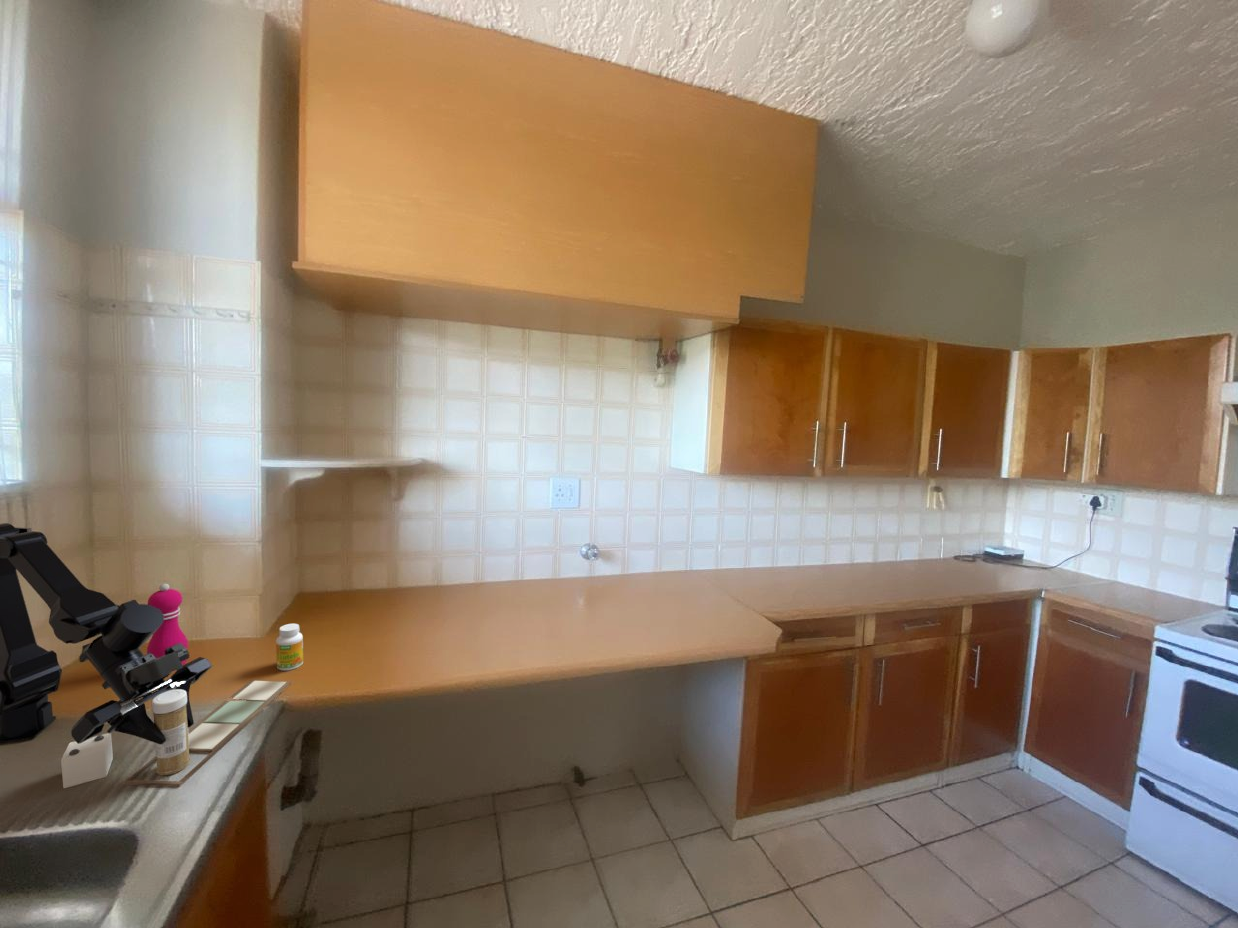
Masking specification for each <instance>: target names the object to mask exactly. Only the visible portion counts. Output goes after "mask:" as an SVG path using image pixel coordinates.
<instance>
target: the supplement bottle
mask: <svg viewBox="0 0 1238 928" xmlns="http://www.w3.org/2000/svg"><path fill="white" fill-rule="evenodd" d="M278 630H279V631H278V632H279V636H278V637H277V638H276V641H275V643H276V644H275V651H276V668H277V669H278V670H279V671H283V672H286V671H291V670H294V669H298V668H299V667H301V666H302V665H303V663H304V636H303V634H302V632H300V625H299V624H298V623H288V624H287V623H286V624H284V625H282V626H280V627H279V629H278Z"/></svg>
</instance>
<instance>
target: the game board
mask: <svg viewBox="0 0 1238 928" xmlns="http://www.w3.org/2000/svg"><path fill="white" fill-rule="evenodd" d="M291 683H292V681H282V680H281V681H280V680H279V681H278V680H249V681H248V682H247V683H246V684H244V685H243V686H242V687H240V688H239V689H238V690H237V691H236V692H235V693H233V694H232V695H230V696H229V698H231V697H232V698H233V699H234V700H236V699H239V700H242V699H243V700H246V701H229V702H228V701H226V700H224V701H223V702H222V703H221V704H219V705H218V706H217V707H216V708H214V709H213V710H212V711H211V712H209V713H208V714H207V715H206V716H204V717H203V718H202V719H200V721H198V722H197V723H195V725H192V726H191V727H190V728H189V729H188V732H189V753H200V754H201V753H204V754H205V753H207V754H208V755H207V756H206V757H204V758H203V759H202V760H201V761H200V762H199V763H198V764H197V765H195V767H194V768H192V769H191V770H190V771H189V772H188V773H186V775H184V776H183V777H182V778H181V779H180V780H179V781H176V780H175V781H173V780H170V781H169V780H141V779H140V780H138V779H136V778H138V777H139V776H140V775H141V774H143V772H145V771H146V770H148V769H149V768H150V767H151V766H153V764H155V763H157V759H156V756H155V757H154V758H152V759H151V760H149V761H148V762H147V763H146V764H145V765H143V766H142V767H141V768H140V769H138V770H137V771H136V772H134V773H133V774H132V775H131V776H129V777H128V778H127V779H126V780H125V781H123V786H144V787H145V786H146V787H147V786H148V787H150V786H151V787H154V786H155V787H181V786H182V785H183V784H184V783H185V782H186V781H188V780H189V779H190V777H192V776H193V775H194V774H195V773H197V772H198V771H199V770H200V769H201V768H202V767H203V766H204V765H205V764H206V763H208V762H209V760H210V759H212V758H213V757H214V756H215V755H216V754H217V753H218V752H219V751H220V750H221V749H223V748H224V747H225V746H226V745H227V744H228V743H229V742H230V741H231V740H232V739H234V737H235V736H237V734H239V733H240V732H241V731H242V730H243V729H245V727H246V726H248V724H249V723H251V722H252V721H253V720H254V719H255V718H256V717H257V716H258V715H259V714H260V713H261V712H260V711H261V710H262V709H263V708H265V707H266V706H267V705H268V703H269V702H270V701H271V700H272V699H273V698H275V697H276V696H277V695H279V694H280V693H281V692H282V691H283V690H284V689H285V688H286V687H287V686H288V685H290V684H291ZM292 684H293V683H292ZM292 684H291V685H292ZM291 685H290V686H291ZM284 691H285V690H284ZM284 691H283V692H284ZM283 692H282V693H283ZM282 693H281V694H282ZM281 694H280V695H281ZM280 695H279V696H280ZM226 702H227V703H226ZM268 706H269V705H268ZM268 706H267V707H268ZM267 707H266V708H267ZM266 708H265V709H266ZM258 713H259V714H258ZM257 714H258V715H257ZM256 715H257V716H256Z"/></svg>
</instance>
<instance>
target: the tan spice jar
mask: <svg viewBox="0 0 1238 928" xmlns="http://www.w3.org/2000/svg"><path fill="white" fill-rule="evenodd" d="M186 705H187V693H186V691H185V690H181V689H176V690H170V691H166V692H164V693H161V694H159V695H157V696H156V697H154V698H153V699H151V705H150V706H151V712H152V714H153V723H154V724H155V725H156V726H157V727H158V729H159V730H160V731H161V732H162V734H163V735H164V737H165V739H166V741H165V742H164V743H163V744H161V745H160V744H157V743H154V746H155V748H154V749H155V751H154V752H155V757H156V759H157V761H156V771H155V772H156V774H157V775H160V776H170V775H174V774H176V773H179V772H180V771H182V770H184V769H185V768H186V767H187V766H189V764H190V763H191V757H190V752H189V732H188V730H189V727H188V724H187V710H186Z"/></svg>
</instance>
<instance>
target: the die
mask: <svg viewBox="0 0 1238 928" xmlns="http://www.w3.org/2000/svg"><path fill="white" fill-rule="evenodd" d="M112 743H113V740H112V733H108V732H107V733H103V734H100V735H99V734H98V735H95V736H93V737H92V738H90V739H88V740H86V741H84V742H82V743H80V744H78V743H77V742H76V741H75V740H74V741H72V742H69V744H68V745H67V747H66V749H65V751H64V753H63V755H62V758H61V759H60V764H61V766H60V767H61V773H62V774H61V775H62V786H63V789H66V788H67V789H68V788H71V787H75V786H78V785H81V784H86V783H88V782H91V781H95V780H99V779H103V778H107V776H108V773H109V770H110V769H111V765H112V762H113V759H114V755H113V754H114V753H113V744H112Z"/></svg>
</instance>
